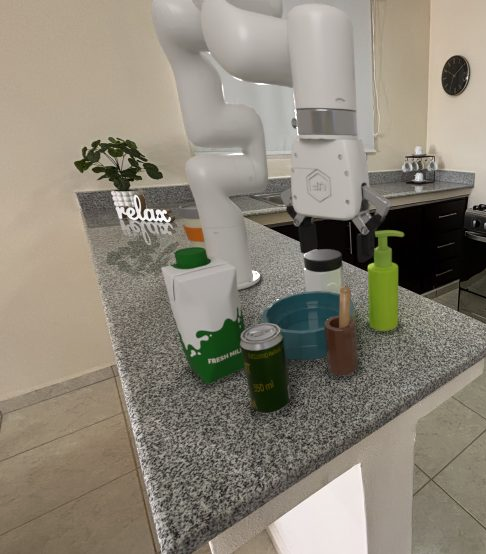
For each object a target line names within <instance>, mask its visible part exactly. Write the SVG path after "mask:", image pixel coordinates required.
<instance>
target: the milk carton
mask: <svg viewBox="0 0 486 554" xmlns="http://www.w3.org/2000/svg"><path fill="white" fill-rule="evenodd" d="M174 258H175V262H176V263H172V264H170V265H167V266H162V267H161V268H160V269H161V272H162V276H163V280H164V284H165V288H166V291H167V297H168V300H169V305H170V308H171V311H172V315H173V319H174V322H175V326H176V329H177V333H178V338H179V341H180V344H181V348H182V351H183V354H184V356H185V358H186V360H187V363H188V364H189V367H190V369H191V370H192V371H193V372H194V373H195V374H196V375H197V376H198V377H199V378H200V379H201V380H202V381H203V382H204V383H205V385H210V384H212V383H215V382H217V381H219V380H221V379H223V378H225V377H228V376H229V375H232V374H234V373H237V372H238V371H241V370H243V369H245V368H244V363H243V358H242V353H241V347H240V341H241V333H242V332H243V331H244V330H246V326H245V321H244V315H243V310H242V305H241V299H240V294H239V293H240V292H239V290H238V288H237V276H236V268H235V267H234V266H232V265H230V264H229V263H228V262H226V261H224V260H222V259H220V258H218V257H216V256H211V257H208V256H207V254H206V250H205V248H201V247H193V246H191V247H185V248H181V249H178V250H176V251H174Z"/></svg>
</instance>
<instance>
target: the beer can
mask: <svg viewBox="0 0 486 554" xmlns="http://www.w3.org/2000/svg"><path fill="white" fill-rule="evenodd" d="M240 347H241V353H242V358H243V363H244V368H243V369H244V373H245V378H246V382H247V388H248V394H249V400H250V403H251V407H252V409H253V410H254V411H255V412H256V413H259V414H263V415H265V414H266V415H269V414H273V413H277V412H279V411H282V410H283V409H284V408H286V407H287V405H289V403H290V401H291V399H292V391H291V382H290V377H289V370H288V363H287V359H286V354H285V346H284V339H283V334H282V333H281V331H280V327H279V326H277V325H275V324H271V323H263V324H262V323H258V324H254V325H251V326H249V327H247V328H245V330H244V331H243V332H242V333H241V341H240Z"/></svg>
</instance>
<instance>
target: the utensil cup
mask: <svg viewBox="0 0 486 554" xmlns="http://www.w3.org/2000/svg"><path fill="white" fill-rule="evenodd" d="M356 323H357V322H356V318H355V319H354V318H352V317H350V324H349V325H348V326H346V327H343V328H339V316H334V317H331V318H329V319H328V320H326V321H325V324H324V328H325V340H326V352H327V356H326V362H327V370H328V372H329V373H330V374H332V375H333V376H339V377H344V376H348V375H350V374H352V373H354V372H355V371H356V370H357V369H358V345H357V344H358V342H357V325H356Z"/></svg>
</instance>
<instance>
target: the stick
mask: <svg viewBox="0 0 486 554" xmlns="http://www.w3.org/2000/svg"><path fill="white" fill-rule="evenodd" d="M351 292H352V289H351V287H350V286H348V285H344V286H343V287H342V288H341V289H340V313H339V328H343V327H346V326H348V325H349V324H350V300H351V301H352V299H351V298H352V296H351V295H352V293H351Z"/></svg>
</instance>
